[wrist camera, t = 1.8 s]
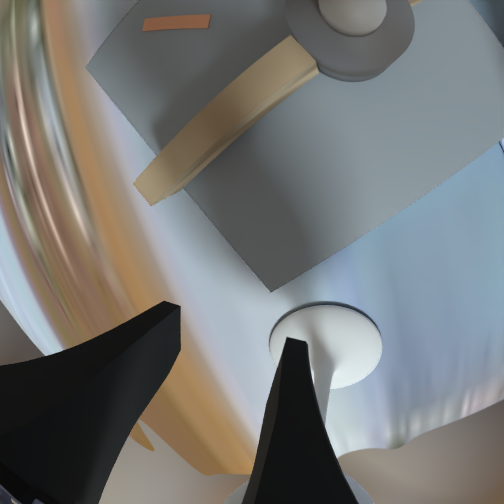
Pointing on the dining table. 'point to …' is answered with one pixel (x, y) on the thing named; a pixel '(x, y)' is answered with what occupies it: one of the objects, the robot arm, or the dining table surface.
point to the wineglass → (328, 359)
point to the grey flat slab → (308, 122)
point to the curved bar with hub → (285, 79)
